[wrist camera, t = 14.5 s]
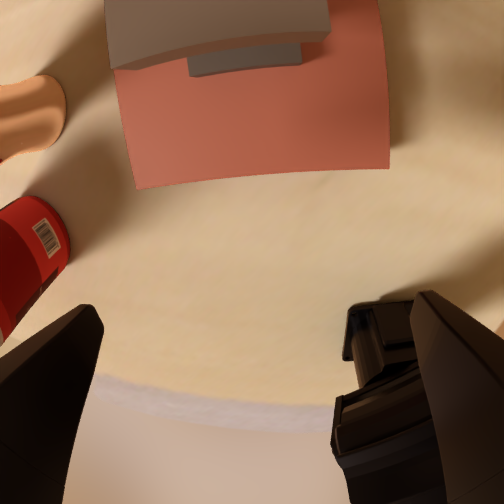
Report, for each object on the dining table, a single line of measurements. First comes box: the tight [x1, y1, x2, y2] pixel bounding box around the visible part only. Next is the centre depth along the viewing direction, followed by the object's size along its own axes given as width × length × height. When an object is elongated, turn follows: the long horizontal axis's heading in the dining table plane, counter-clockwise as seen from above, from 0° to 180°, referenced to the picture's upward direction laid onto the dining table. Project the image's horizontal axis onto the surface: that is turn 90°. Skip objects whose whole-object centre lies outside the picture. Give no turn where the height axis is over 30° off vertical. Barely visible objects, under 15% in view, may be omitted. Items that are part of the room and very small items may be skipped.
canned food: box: [0, 196, 70, 346], centre depth 17 cm, size 8×8×11 cm
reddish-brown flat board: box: [114, 0, 390, 190], centre depth 12 cm, size 18×14×3 cm
